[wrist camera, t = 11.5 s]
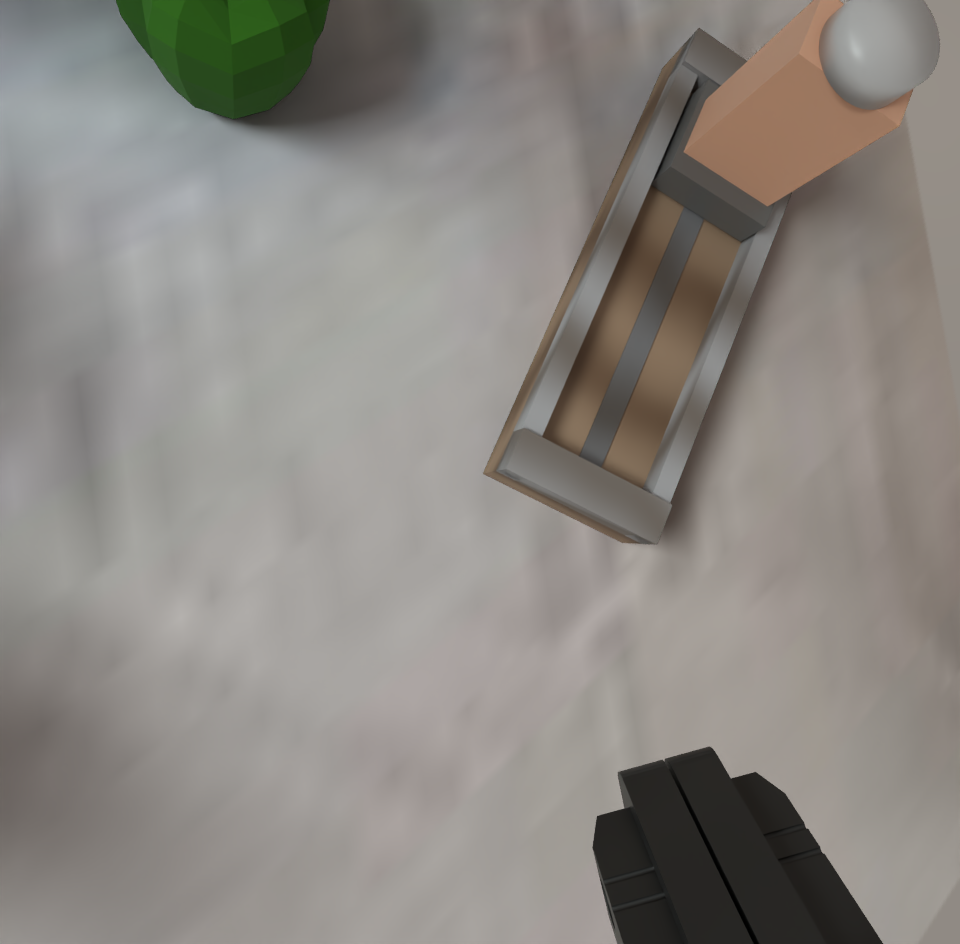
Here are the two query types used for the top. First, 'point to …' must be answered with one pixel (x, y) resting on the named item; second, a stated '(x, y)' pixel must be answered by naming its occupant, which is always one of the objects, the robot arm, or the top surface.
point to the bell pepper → (228, 48)
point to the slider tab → (797, 108)
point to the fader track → (634, 336)
